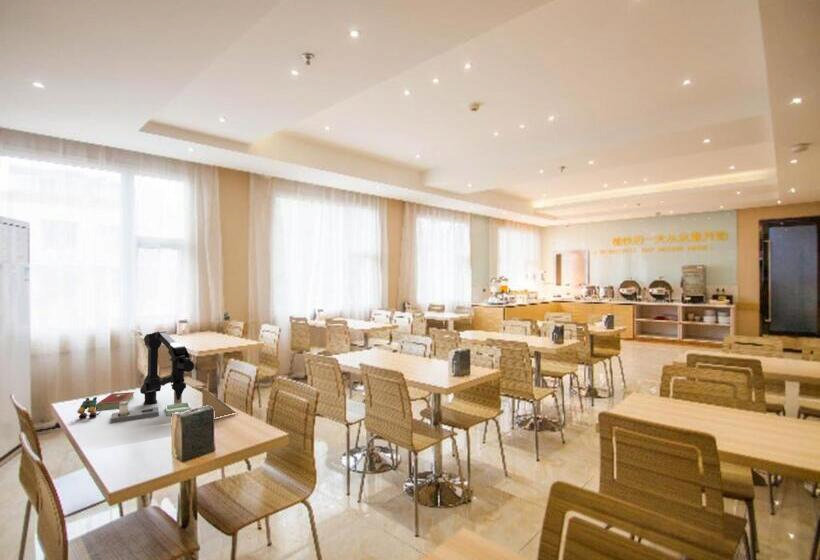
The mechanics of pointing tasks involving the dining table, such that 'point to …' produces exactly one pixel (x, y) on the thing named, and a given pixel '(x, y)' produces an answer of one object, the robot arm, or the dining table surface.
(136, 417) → the fuse block
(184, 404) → the parts tray
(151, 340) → the robot arm
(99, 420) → the dining table surface
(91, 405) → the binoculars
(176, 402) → the fuse
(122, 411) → the fuse
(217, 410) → the sandwich container
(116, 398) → the hardcover book
